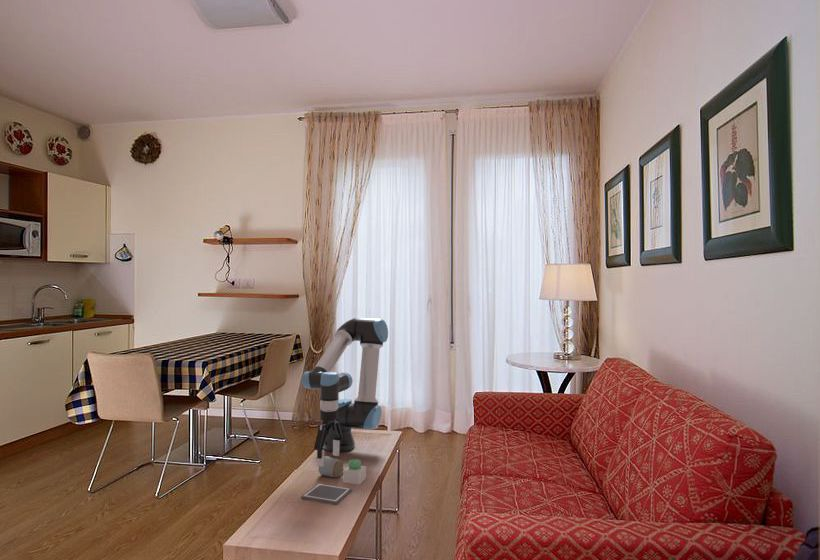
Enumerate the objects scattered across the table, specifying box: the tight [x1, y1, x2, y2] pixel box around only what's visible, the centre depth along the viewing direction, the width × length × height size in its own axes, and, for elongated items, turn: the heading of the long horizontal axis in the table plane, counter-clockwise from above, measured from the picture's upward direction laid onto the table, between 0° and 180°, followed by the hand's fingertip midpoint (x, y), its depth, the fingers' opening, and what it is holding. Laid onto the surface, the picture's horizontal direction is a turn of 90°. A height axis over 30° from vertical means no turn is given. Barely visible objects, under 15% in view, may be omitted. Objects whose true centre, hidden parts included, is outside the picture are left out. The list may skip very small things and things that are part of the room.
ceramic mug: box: [317, 455, 345, 479], centre depth 206 cm, size 11×8×8 cm
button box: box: [342, 465, 367, 486], centre depth 200 cm, size 7×7×5 cm
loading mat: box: [300, 482, 353, 505], centre depth 186 cm, size 13×15×1 cm
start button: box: [348, 458, 362, 468], centre depth 200 cm, size 5×5×2 cm
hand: (328, 460), depth 203 cm, fingers open, 13 cm apart
